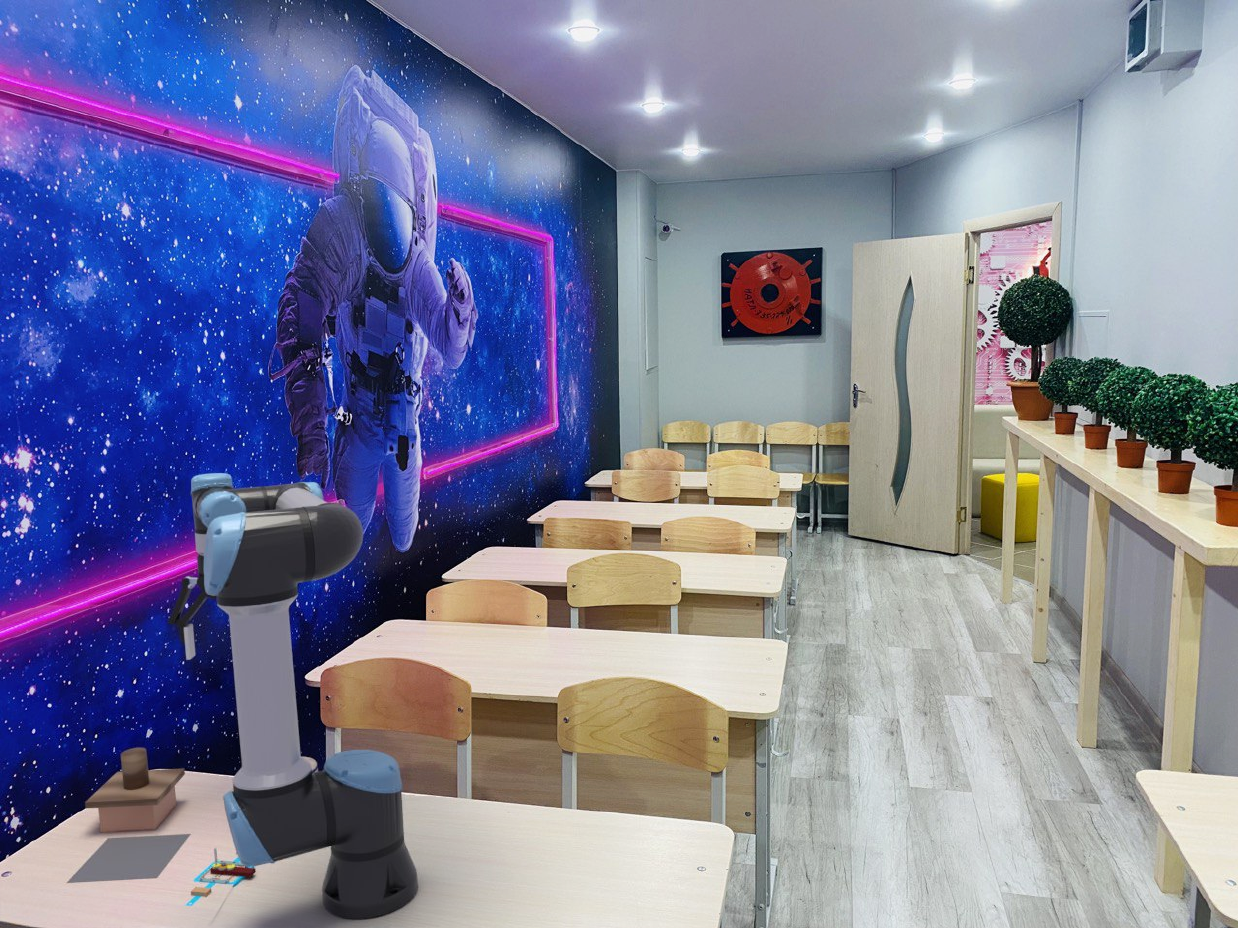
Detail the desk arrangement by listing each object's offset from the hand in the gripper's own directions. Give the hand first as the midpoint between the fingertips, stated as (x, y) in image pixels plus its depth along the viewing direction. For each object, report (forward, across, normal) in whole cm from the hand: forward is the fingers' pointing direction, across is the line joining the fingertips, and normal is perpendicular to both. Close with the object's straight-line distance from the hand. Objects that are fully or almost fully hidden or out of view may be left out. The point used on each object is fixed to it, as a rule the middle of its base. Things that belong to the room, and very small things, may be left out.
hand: (225, 656), depth 194 cm
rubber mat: (+29, +10, +25) cm, 39 cm away
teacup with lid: (+29, -15, +8) cm, 34 cm away
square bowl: (+29, +15, +10) cm, 34 cm away
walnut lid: (+23, +15, +10) cm, 29 cm away
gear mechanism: (+30, -9, +32) cm, 45 cm away
